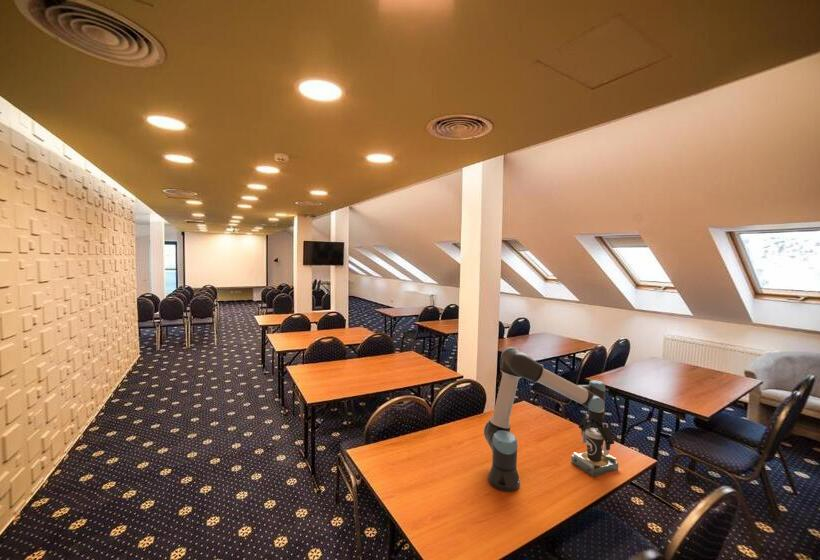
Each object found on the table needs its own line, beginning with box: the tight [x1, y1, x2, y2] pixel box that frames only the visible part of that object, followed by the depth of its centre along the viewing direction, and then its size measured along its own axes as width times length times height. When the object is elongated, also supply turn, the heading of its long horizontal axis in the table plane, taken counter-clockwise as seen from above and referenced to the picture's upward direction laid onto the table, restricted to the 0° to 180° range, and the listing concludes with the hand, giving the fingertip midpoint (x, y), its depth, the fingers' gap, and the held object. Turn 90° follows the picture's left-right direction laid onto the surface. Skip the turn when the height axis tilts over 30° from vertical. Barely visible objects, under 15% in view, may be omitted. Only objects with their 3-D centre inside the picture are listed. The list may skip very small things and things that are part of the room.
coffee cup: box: [585, 427, 605, 462], centre depth 185 cm, size 10×10×15 cm
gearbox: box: [570, 450, 619, 478], centre depth 185 cm, size 19×14×6 cm
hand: (594, 448), depth 185 cm, fingers open, 13 cm apart
